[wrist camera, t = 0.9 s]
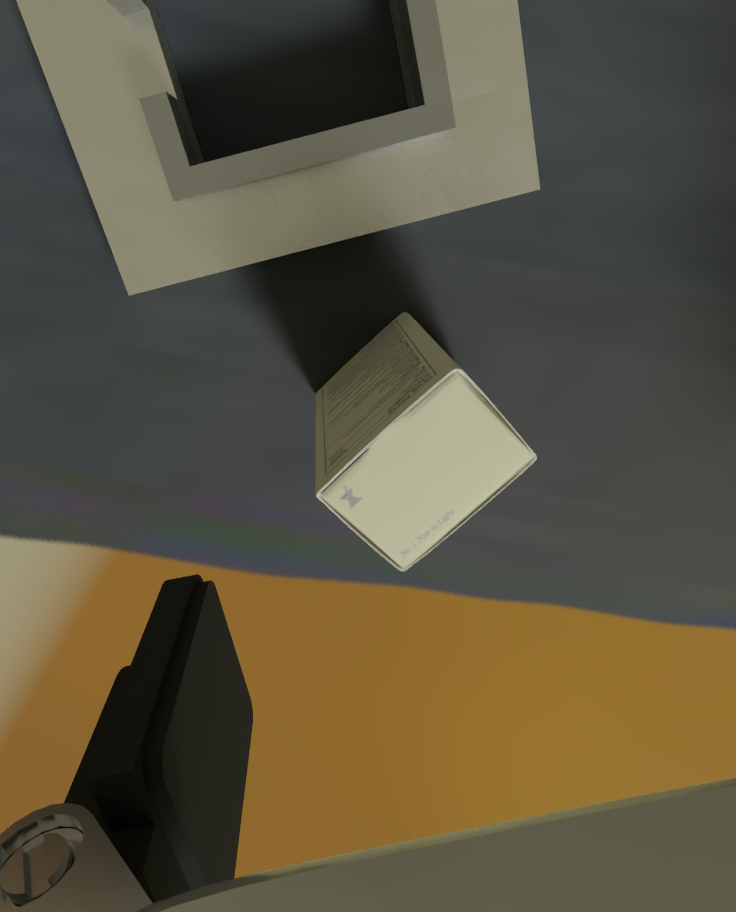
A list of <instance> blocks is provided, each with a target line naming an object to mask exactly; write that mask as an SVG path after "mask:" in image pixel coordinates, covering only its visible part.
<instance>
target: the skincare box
mask: <svg viewBox="0 0 736 912" xmlns="http://www.w3.org/2000/svg"><path fill="white" fill-rule="evenodd" d="M315 416H316V418H315V435H316V441H315V443H316V448H315V453H316V454H315V457H316V461H315V462H316V479H315V487H316V497H317V498H318V499H319V500H320V501H322V502H323V503H324V504H325V505H326V506H327V507H328V508H329V509H330V510H331V511H332V512H333V513H334V514H335V515H336V516H338V517H339V518H340V519H341V520H342V521H343V522H344V523H345V524H346V525H347V526H348V527H349V528H350V529H352V530H353V531H354V532H355V533H356V534H357V535H358V536H360V537H361V538H362V539H363V540H364V541H365V542H366V543H367V544H368V545H369V546H370V547H372V548H373V549H374V550H375V551H376V552H377V553H379V554H380V555H381V556H382V557H383V558H385V559H386V560H387V561H388V562H389V563H391V564H392V565H393V566H394V567H395V568H396V569H398V570H400V571H405V570H407V569H408V568H410V567H411V566H412V565H413V564H415V563H416V562H417V561H419V560H420V559H421V558H422V557H424V556H425V555H426V554H428V553H429V552H430V551H431V550H433V549H434V548H435V547H436V546H437V545H439V544H440V543H441V542H442V541H444V540H445V539H446V538H447V537H448V536H449V535H451V534H452V533H453V532H454V531H455V530H457V529H458V528H459V527H460V526H462V525H463V524H464V523H465V522H466V521H467V520H468V519H469V518H471V517H472V516H473V515H474V514H475V513H477V512H478V511H479V510H481V508H482V507H484V506H485V505H486V504H487V503H488V502H489V501H491V500H492V499H493V498H494V497H495V496H496V495H498V494H499V493H500V492H501V491H502V490H503V489H504V488H505V487H506V486H508V485H509V484H510V483H511V482H512V481H514V480H515V479H516V478H517V477H518V476H519V475H521V474H522V473H523V472H524V471H525V470H526V469H527V468H528V467H529V466H530V465H532V464H533V463H534V462H535V461H536V459H537V456H536V454H535V453H534V452H533V450H532V449H531V448H530V447H529V446H528V444H527V443H526V442H525V441H524V440H523V438H522V437H521V436H520V435H519V434H518V432H517V431H516V430H515V429H514V427H513V426H512V425H511V424H510V423H509V421H508V420H507V419H506V418H505V417H504V416H503V414H502V413H501V412H500V411H499V410H498V409H497V407H496V406H495V405H494V404H493V403H492V402H491V401H490V399H489V398H488V397H487V396H486V395H485V394H484V393H483V392H482V390H481V389H480V388H479V387H478V386H477V385H476V384H475V383H474V382H473V380H472V379H471V378H470V377H469V376H468V375H467V374H466V373H465V372H464V371H463V370H462V369H461V368H460V367H459V366H458V365H457V364H456V363H455V362H454V361H453V360H452V359H451V358H450V357H449V355H448V354H447V353H446V352H445V351H444V350H443V349H442V348H441V347H440V346H439V345H438V344H437V343H436V342H435V341H434V340H433V339H432V337H431V336H430V335H429V334H428V333H427V332H426V331H425V330H424V329H423V328H422V327H421V326H420V325H419V324H418V323H417V321H416V320H415V319H414V318H413V317H412V316H411V315H410V314H409V313H407V312H403V313H401V314H400V315H399V316H398V317H397V318H395V319H394V320H393V321H392V322H391V323H390V324H389V325H388V326H386V327H385V328H384V329H383V330H382V331H381V332H380V333H379V334H378V335H376V336H375V337H374V338H373V339H372V340H371V341H370V342H369V343H368V344H367V345H366V346H364V347H363V348H362V349H361V350H360V351H359V352H358V353H357V354H356V355H355V356H354V357H353V358H352V359H351V360H350V361H348V362H347V363H346V364H345V365H344V366H343V367H342V368H341V369H340V370H339V371H338V372H337V373H336V374H335V375H334V376H333V377H332V378H331V379H330V380H329V381H328V382H327V383H326V384H325V385H324V386H323V387H322V388H321V389H320V390H319V391H318V392H317V393H316V395H315Z"/></svg>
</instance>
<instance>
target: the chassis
mask: <svg viewBox="0 0 736 912" xmlns="http://www.w3.org/2000/svg"><path fill="white" fill-rule="evenodd" d="M16 1H17V4H18V6H19V9H20V12H21V14H22V17H23V19H24V22H25V25H26V27H27V30H28V33H29V35H30V38H31V40H32V43H33V46H34V48H35V51H36V54H37V56H38V59H39V61H40V64H41V67H42V69H43V72H44V74H45V77H46V80H47V82H48V85H49V88H50V90H51V93H52V95H53V98H54V101H55V103H56V106H57V109H58V111H59V114H60V116H61V119H62V122H63V124H64V127H65V129H66V132H67V135H68V137H69V140H70V143H71V145H72V148H73V150H74V153H75V156H76V158H77V161H78V164H79V166H80V169H81V171H82V174H83V177H84V179H85V182H86V185H87V187H88V190H89V192H90V195H91V198H92V200H93V203H94V205H95V208H96V211H97V213H98V216H99V219H100V221H101V224H102V226H103V229H104V232H105V234H106V237H107V240H108V242H109V245H110V247H111V250H112V253H113V255H114V258H115V260H116V263H117V266H118V268H119V271H120V274H121V276H122V279H123V281H124V284H125V287H126V289H127V292H128V295H133V294H137V293H140V292H144V291H148V290H152V289H156V288H160V287H164V286H168V285H171V284H175V283H179V282H183V281H187V280H191V279H195V278H199V277H202V276H206V275H210V274H214V273H218V272H222V271H226V270H229V269H233V268H237V267H241V266H245V265H249V264H253V263H257V262H260V261H264V260H268V259H272V258H276V257H280V256H284V255H288V254H291V253H295V252H299V251H303V250H307V249H311V248H315V247H318V246H322V245H326V244H330V243H334V242H338V241H342V240H346V239H349V238H353V237H357V236H361V235H365V234H369V233H373V232H377V231H380V230H384V229H388V228H392V227H396V226H400V225H404V224H408V223H411V222H415V221H419V220H423V219H427V218H431V217H435V216H438V215H442V214H446V213H450V212H454V211H458V210H462V209H466V208H469V207H473V206H477V205H481V204H485V203H489V202H493V201H497V200H500V199H504V198H508V197H512V196H516V195H520V194H524V193H527V192H531V191H535V190H539V189H540V184H539V176H538V167H537V159H536V151H535V142H534V134H533V126H532V117H531V109H530V101H529V93H528V84H527V76H526V68H525V59H524V51H523V43H522V34H521V26H520V18H519V10H518V1H517V0H388V2H389V7H390V13H391V18H392V23H393V29H394V34H395V39H396V44H397V50H398V55H399V60H400V66H401V71H402V76H403V82H404V87H405V92H406V98H407V103H408V108H409V109H407V110H403V111H399V112H396V113H392V114H388V115H384V116H380V117H377V118H373V119H369V120H365V121H361V122H358V123H354V124H350V125H346V126H342V127H338V128H335V129H331V130H327V131H323V132H319V133H316V134H312V135H308V136H304V137H300V138H297V139H293V140H289V141H285V142H281V143H277V144H274V145H270V146H266V147H262V148H258V149H255V150H251V151H247V152H243V153H239V154H236V155H232V156H228V157H224V158H220V159H216V160H213V161H209V162H204V159H203V156H202V153H201V149H200V146H199V143H198V140H197V137H196V133H195V130H194V127H193V124H192V120H191V117H190V114H189V111H188V108H187V104H186V101H185V98H184V95H183V91H182V88H181V85H180V82H179V78H178V75H177V72H176V69H175V66H174V62H173V59H172V56H171V53H170V49H169V46H168V43H167V40H166V36H165V33H164V30H163V27H162V24H161V20H160V17H159V14H158V11H157V7H156V4H155V1H154V0H16Z"/></svg>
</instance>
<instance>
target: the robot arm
mask: <svg viewBox="0 0 736 912" xmlns="http://www.w3.org/2000/svg"><path fill="white" fill-rule="evenodd" d="M252 725H253V710H252V703H251V699H250V696H249V692H248V689H247V686H246V683H245V679H244V676H243V673H242V670H241V666H240V664H239V660H238V657H237V654H236V651H235V647H234V644H233V641H232V638H231V635H230V632H229V629H228V625H227V622H226V619H225V615H224V612H223V609H222V606H221V603H220V600H219V596H218V593H217V590H216V587H215V585H214V583H213V581H206V582H203V579H202V578H201V576H199V575H192V576H187V577H182V578H176V579H171V580H166V581H165V582H164V583H163V585H162V588H161V590H160V592H159V595H158V597H157V600H156V602H155V605H154V608H153V610H152V613H151V615H150V618H149V620H148V623H147V625H146V628H145V630H144V633H143V635H142V638H141V640H140V643H139V646H138V648H137V651H136V653H135V656H134V658H133V661H132V663H131V665H130V666H126V667H124V668H122V669H121V670H120V672H119V673H118V675H117V677H116V679H115V681H114V684H113V686H112V689H111V691H110V693H109V696H108V698H107V701H106V703H105V706H104V708H103V710H102V713H101V715H100V717H99V720H98V722H97V725H96V727H95V729H94V732H93V734H92V737H91V739H90V742H89V744H88V746H87V749H86V751H85V754H84V756H83V758H82V761H81V763H80V766H79V768H78V770H77V773H76V775H75V778H74V780H73V782H72V785H71V787H70V790H69V792H68V795H67V797H66V799H65V802H64V803H63V804H54V805H50V806H47V807H44V808H42V809H39V810H36V811H33V812H32V813H30V814H28V815H27V816H25V817H23V818H21V819H20V820H18V821H16V822H15V823H13V824H12V825H11V826H10V827H9V828H7V829H6V830H5V831H4V832H3V833H1V834H0V912H736V778H732V779H727V780H721V781H716V782H711V783H706V784H700V785H695V786H690V787H684V788H679V789H674V790H668V791H663V792H658V793H652V794H647V795H642V796H637V797H632V798H626V799H622V800H616V801H611V802H605V803H600V804H595V805H590V806H585V807H579V808H574V809H569V810H563V811H558V812H553V813H548V814H543V815H538V816H533V817H527V818H523V819H517V820H512V821H507V822H502V823H497V824H492V825H487V826H482V827H477V828H471V829H467V830H462V831H456V832H451V833H446V834H441V835H436V836H431V837H426V838H420V839H415V840H410V841H405V842H400V843H395V844H390V845H385V846H380V847H375V848H370V849H365V850H361V851H356V852H351V853H346V854H342V855H338V856H332V857H328V858H323V859H318V860H314V861H309V862H304V863H300V864H295V865H290V866H286V867H281V868H277V869H272V870H268V871H263V872H258V873H254V874H250V875H246V876H242V877H239V878H234V875H235V867H236V859H237V850H238V841H239V833H240V824H241V817H242V808H243V800H244V791H245V783H246V775H247V766H248V758H249V750H250V741H251V733H252Z"/></svg>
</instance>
